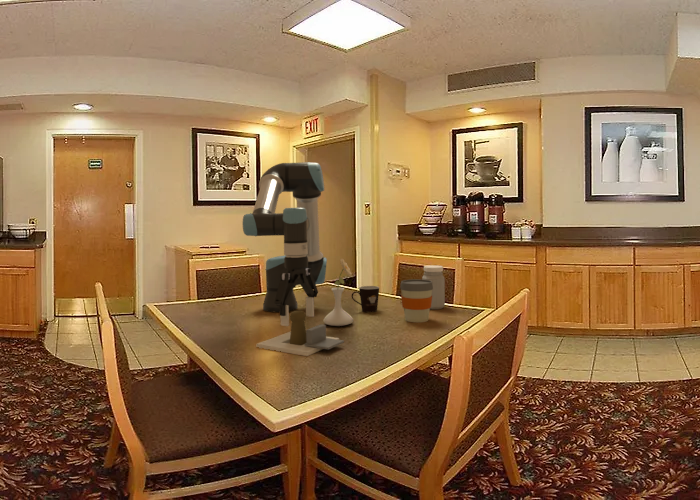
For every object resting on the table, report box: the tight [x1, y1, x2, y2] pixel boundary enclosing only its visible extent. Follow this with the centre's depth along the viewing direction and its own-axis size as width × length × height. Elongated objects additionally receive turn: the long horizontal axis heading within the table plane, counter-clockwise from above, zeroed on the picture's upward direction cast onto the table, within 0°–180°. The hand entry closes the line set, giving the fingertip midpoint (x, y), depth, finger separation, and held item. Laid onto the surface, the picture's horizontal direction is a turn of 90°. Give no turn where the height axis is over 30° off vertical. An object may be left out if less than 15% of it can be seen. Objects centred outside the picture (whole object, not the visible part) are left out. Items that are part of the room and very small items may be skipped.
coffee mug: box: [351, 285, 380, 313], centre depth 214 cm, size 12×9×10 cm
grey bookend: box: [304, 324, 345, 350], centre depth 158 cm, size 9×9×5 cm
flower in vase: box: [323, 258, 354, 327], centre depth 190 cm, size 13×11×25 cm
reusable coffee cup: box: [400, 278, 433, 323], centre depth 195 cm, size 13×13×15 cm
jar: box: [421, 264, 446, 310], centre depth 218 cm, size 10×10×18 cm
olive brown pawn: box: [289, 310, 307, 345], centre depth 163 cm, size 6×6×11 cm
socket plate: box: [255, 331, 340, 357], centre depth 164 cm, size 20×18×1 cm
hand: (297, 320), depth 163 cm, fingers open, 13 cm apart
